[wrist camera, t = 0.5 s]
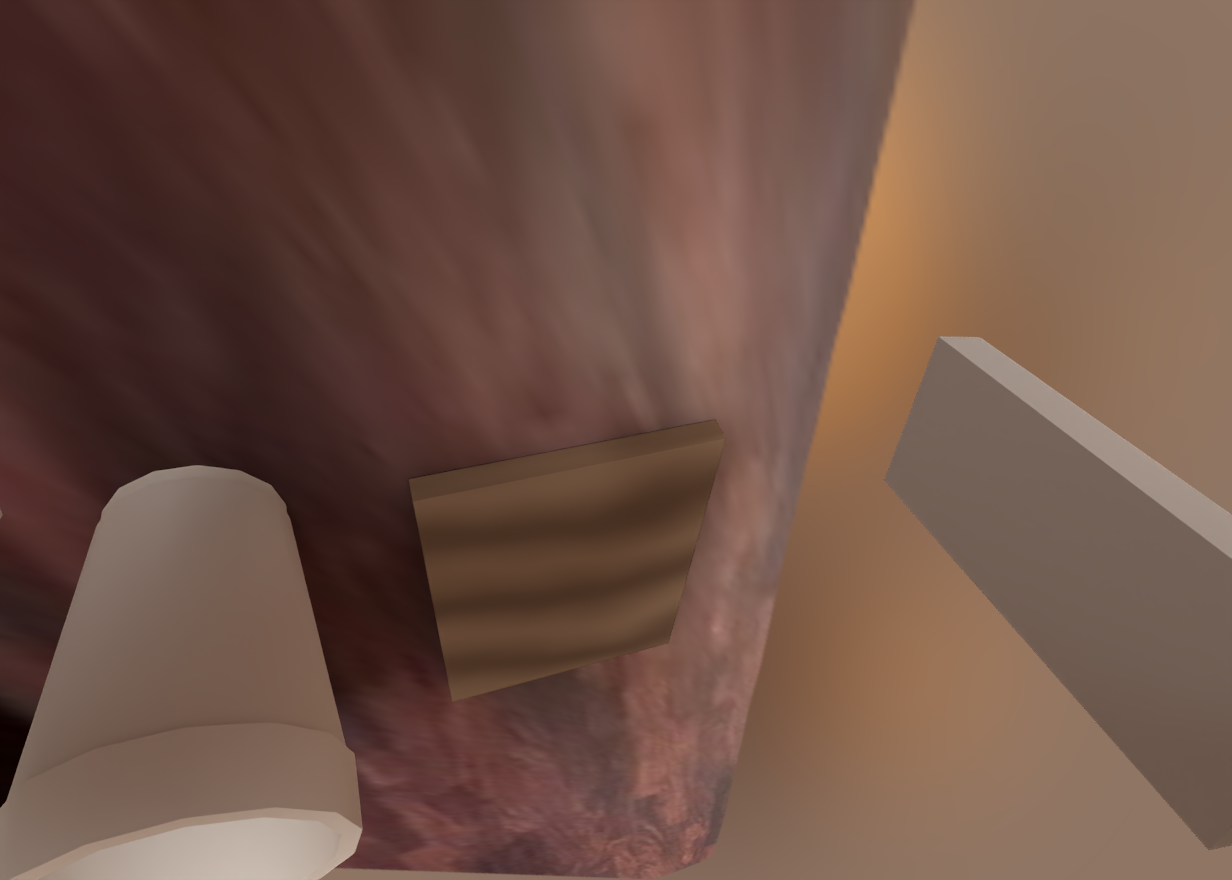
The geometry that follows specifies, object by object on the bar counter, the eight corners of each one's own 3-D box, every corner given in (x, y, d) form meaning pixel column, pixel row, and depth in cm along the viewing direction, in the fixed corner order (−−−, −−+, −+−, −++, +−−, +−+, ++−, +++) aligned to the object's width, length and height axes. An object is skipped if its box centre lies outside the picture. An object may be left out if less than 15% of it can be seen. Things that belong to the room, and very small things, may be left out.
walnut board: (408, 479, 32) (412, 501, 31) (715, 419, 36) (725, 438, 35) (448, 683, 47) (452, 702, 46) (662, 626, 50) (668, 642, 50)
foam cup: (180, 613, 34) (165, 948, 26) (-20, 516, 26) (-126, 942, 18) (372, 522, 33) (418, 834, 25) (223, 397, 26) (221, 781, 18)
